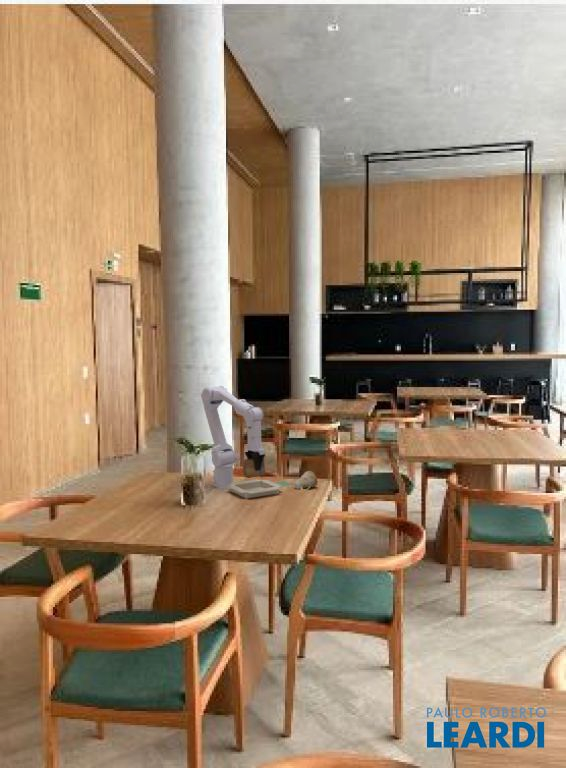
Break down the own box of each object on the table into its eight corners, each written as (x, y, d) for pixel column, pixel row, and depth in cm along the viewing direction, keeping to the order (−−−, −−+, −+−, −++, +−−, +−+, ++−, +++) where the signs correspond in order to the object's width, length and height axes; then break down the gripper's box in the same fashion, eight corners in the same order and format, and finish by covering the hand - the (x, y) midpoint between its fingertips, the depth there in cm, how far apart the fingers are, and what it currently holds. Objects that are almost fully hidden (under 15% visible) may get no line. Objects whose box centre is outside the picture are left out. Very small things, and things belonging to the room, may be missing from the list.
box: (243, 476, 251) (242, 459, 250) (260, 472, 255) (259, 456, 254) (248, 478, 247) (246, 461, 246) (265, 474, 251) (263, 457, 250)
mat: (268, 484, 266) (268, 483, 266) (284, 482, 270) (284, 481, 270) (277, 488, 259) (277, 487, 259) (293, 485, 263) (293, 484, 263)
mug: (289, 489, 257) (295, 467, 261) (308, 496, 260) (314, 475, 264) (297, 488, 251) (303, 465, 254) (317, 496, 254) (323, 473, 257)
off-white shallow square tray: (223, 491, 256) (223, 484, 256) (263, 485, 265) (263, 478, 265) (244, 501, 237) (244, 494, 237) (286, 494, 247) (286, 487, 246)
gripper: (238, 435, 254) (239, 467, 255) (253, 440, 242) (254, 473, 243) (253, 434, 258) (254, 465, 259) (269, 438, 245) (270, 471, 246)
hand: (255, 469), depth 251 cm, fingers closed on box, 4 cm apart
